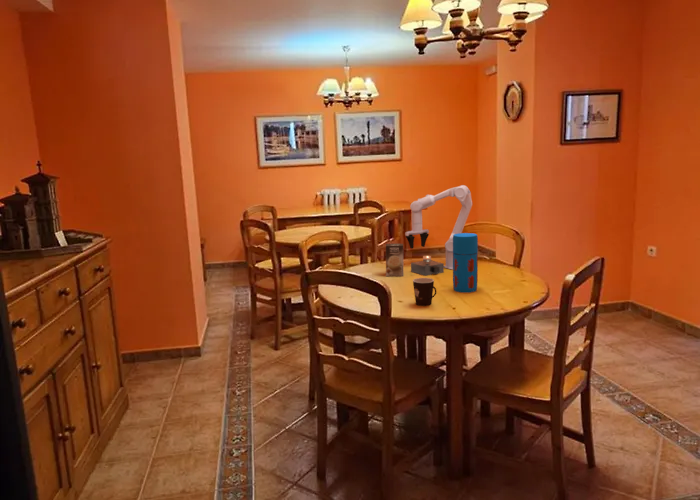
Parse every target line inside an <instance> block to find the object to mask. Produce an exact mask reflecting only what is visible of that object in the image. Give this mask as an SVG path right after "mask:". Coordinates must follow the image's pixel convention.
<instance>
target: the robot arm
mask: <svg viewBox="0 0 700 500" xmlns="http://www.w3.org/2000/svg"><path fill="white" fill-rule="evenodd" d="M447 197H455V198H456V199H457V200H458V201H459V203H460V204H461V209H460V211H459V213H458V216H457V219H456V220H455V221H456V222H455V223H454V226H453V229H452V232H451V233H450V236H449V238H448V239H447V241H446V242H445V243H444V247H445V265H444V268H445V269H449V270H453V235H454V234H459V233H463V230H464V227H465V225H466V222H467V220H468V218H469V214H470V213H471V210H472V207H473V200H472V193H471V191H470V189H469V188H468V186H467V185H464V184H461V185H459V186H455V187H451V188H448V189H446V190H443V191H442V192H439V193H437V194H435V195H433V194H426V195H425V196H424V197H421V198H417V200H413V202H411V204H410V210H411V230H408V231H406V232H405V233H404V235H405V238H406V240H407V241H408V245H409V248H410V249H414V247H415V246H414V244H415V243H414V242H415V236H416V235H419V237H420V245H421V246H420V247H421V248H422V247H423V248H424V247H425V245H426V242H427V240H428V237H429V235H430V234H429V233H430V230H429V229H423V210H425V209H427V208H430V207H432V206H434V205H435V204H436V202H438V201H440V200H443V199H445V198H447ZM414 235H415V236H414Z"/></svg>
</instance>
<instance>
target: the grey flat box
mask: <svg viewBox="0 0 700 500" xmlns="http://www.w3.org/2000/svg"><path fill="white" fill-rule="evenodd" d="M444 266H445V263H443V262H439V261H435V260H432V259H431V261H430V262H428V264H426V262H424V261H423V260H421V261H420V260H419V261H415V262H410V272H411V273H414V274H417V275H421V276H424V277H425V276H427V277H428V276H432V274H433V275H438V274H443V273H444V272H445V271H444V270H445V269H444Z"/></svg>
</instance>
